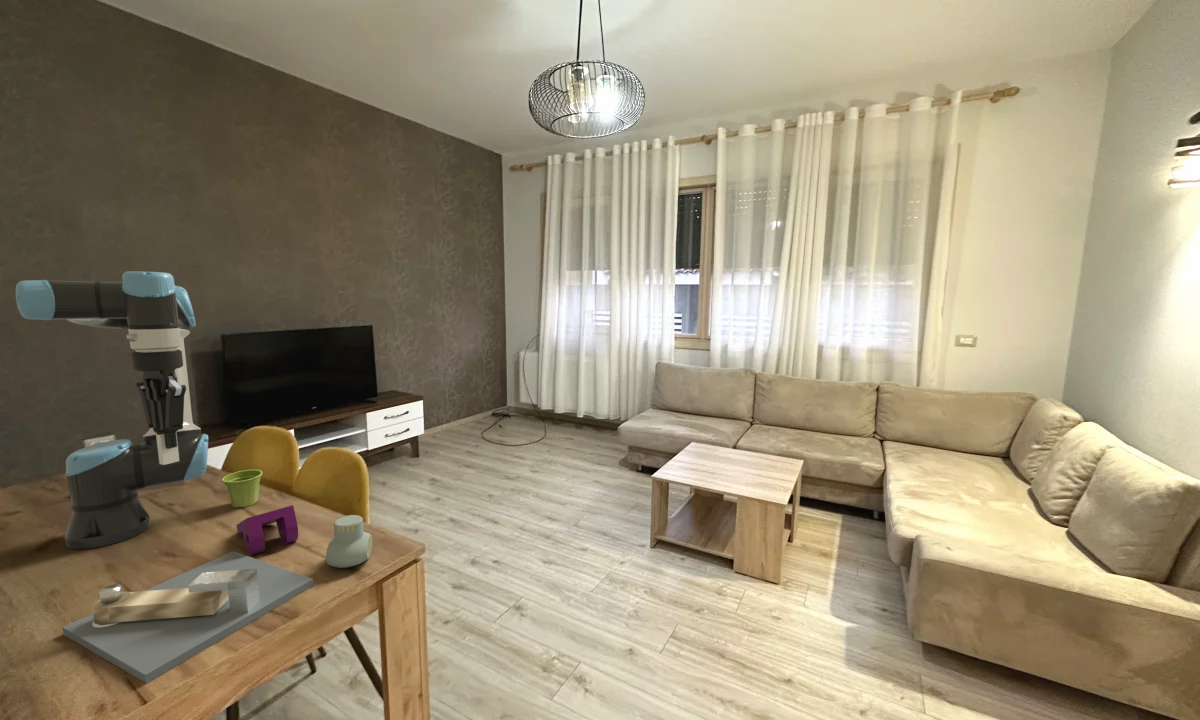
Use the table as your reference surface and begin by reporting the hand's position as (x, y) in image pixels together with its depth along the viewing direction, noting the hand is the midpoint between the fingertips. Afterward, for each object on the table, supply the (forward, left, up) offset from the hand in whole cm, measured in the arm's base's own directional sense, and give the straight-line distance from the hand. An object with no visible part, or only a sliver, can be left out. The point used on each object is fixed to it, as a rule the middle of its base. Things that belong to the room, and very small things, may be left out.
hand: (169, 462), depth 98 cm
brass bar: (+12, -9, -24) cm, 28 cm away
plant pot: (-28, +29, -27) cm, 48 cm away
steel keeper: (+21, -3, -25) cm, 33 cm away
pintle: (+5, -13, -25) cm, 29 cm away
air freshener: (+26, +20, -27) cm, 42 cm away
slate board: (+14, -4, -26) cm, 30 cm away
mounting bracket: (-2, +19, -27) cm, 33 cm away
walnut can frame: (-70, +22, -26) cm, 78 cm away
